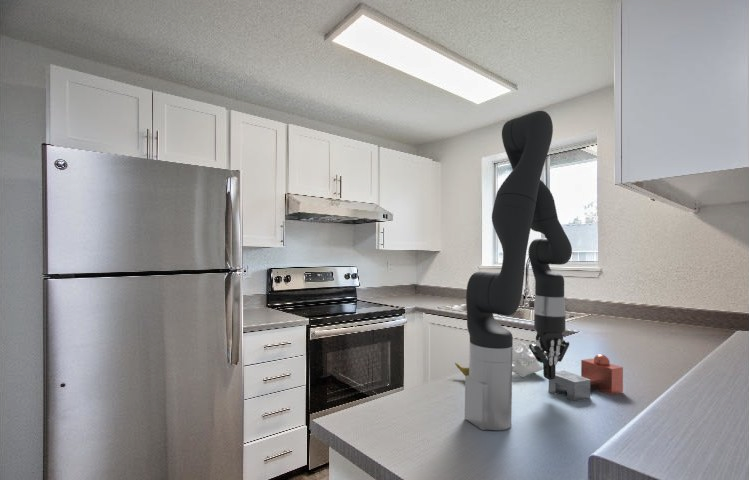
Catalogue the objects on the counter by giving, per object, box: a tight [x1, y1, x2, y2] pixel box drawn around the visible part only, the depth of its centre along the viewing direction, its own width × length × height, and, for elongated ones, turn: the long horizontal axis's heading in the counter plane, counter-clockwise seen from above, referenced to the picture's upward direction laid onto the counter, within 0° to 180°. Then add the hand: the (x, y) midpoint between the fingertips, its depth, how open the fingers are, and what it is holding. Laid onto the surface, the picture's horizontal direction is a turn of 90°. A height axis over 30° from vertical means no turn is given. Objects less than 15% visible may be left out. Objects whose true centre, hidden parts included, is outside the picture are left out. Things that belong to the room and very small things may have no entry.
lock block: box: [548, 370, 591, 402], centre depth 100 cm, size 6×8×5 cm
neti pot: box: [454, 362, 469, 377], centre depth 107 cm, size 4×15×6 cm, turn 44°
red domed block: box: [580, 354, 624, 396], centre depth 104 cm, size 11×9×10 cm
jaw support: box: [512, 342, 543, 378], centre depth 117 cm, size 12×9×10 cm
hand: (549, 378), depth 98 cm, fingers closed
